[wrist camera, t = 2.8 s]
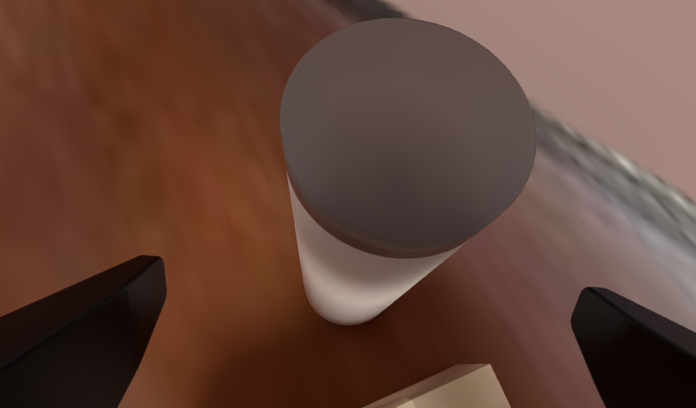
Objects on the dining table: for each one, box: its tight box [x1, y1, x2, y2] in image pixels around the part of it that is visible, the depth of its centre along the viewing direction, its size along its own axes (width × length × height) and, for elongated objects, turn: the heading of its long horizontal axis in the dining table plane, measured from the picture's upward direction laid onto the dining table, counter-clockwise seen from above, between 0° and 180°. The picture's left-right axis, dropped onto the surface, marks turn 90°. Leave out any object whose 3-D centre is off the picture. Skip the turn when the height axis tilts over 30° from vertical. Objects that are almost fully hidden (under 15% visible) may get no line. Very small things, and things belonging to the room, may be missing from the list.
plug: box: [280, 18, 536, 326], centre depth 12 cm, size 4×4×13 cm
